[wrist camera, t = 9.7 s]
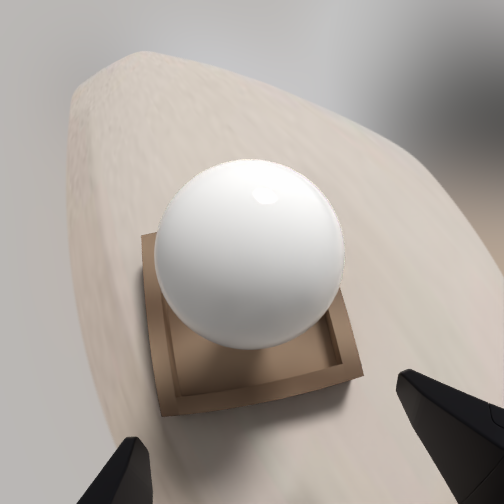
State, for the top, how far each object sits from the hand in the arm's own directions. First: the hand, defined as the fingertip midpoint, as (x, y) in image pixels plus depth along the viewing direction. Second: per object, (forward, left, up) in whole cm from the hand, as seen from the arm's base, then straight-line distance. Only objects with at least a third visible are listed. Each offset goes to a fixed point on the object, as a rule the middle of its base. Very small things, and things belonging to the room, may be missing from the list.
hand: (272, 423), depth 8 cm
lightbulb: (+6, 0, -7) cm, 9 cm away
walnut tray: (+6, 0, -8) cm, 10 cm away
